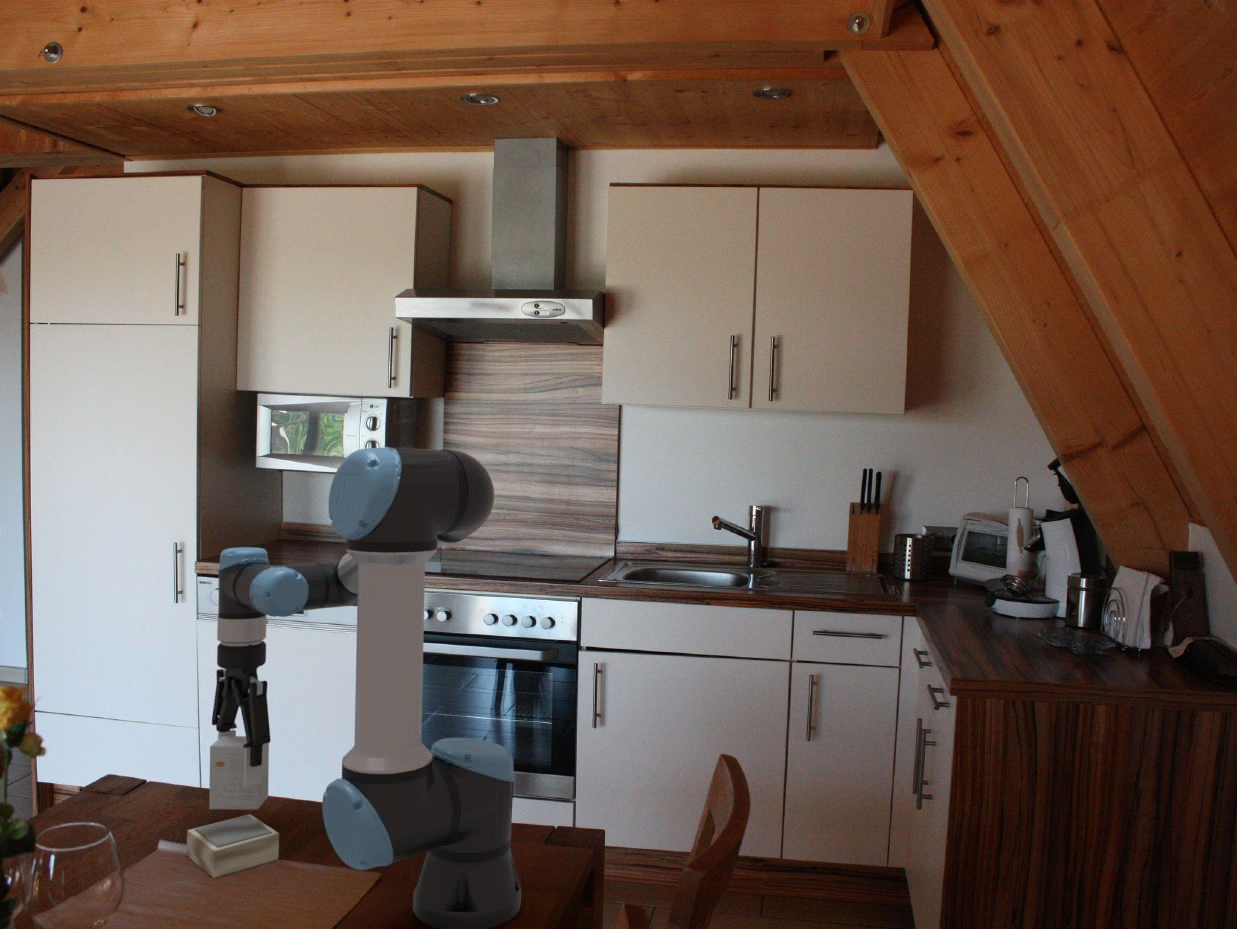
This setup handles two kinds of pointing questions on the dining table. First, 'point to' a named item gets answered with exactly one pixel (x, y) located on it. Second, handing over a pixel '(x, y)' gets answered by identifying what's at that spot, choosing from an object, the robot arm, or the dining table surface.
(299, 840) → the dining table surface
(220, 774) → the small box
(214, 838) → the birch stand
